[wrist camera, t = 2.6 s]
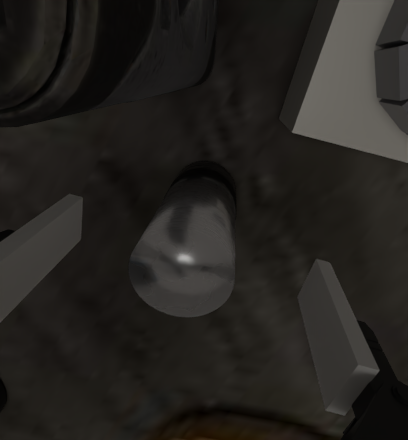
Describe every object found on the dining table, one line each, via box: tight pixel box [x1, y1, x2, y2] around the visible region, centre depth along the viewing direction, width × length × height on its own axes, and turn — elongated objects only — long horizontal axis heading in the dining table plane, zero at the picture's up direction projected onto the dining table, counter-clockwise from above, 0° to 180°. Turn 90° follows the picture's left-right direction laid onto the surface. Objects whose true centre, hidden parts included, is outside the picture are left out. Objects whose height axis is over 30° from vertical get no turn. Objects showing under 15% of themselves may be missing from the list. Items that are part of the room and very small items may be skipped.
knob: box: [128, 161, 236, 317], centre depth 20 cm, size 5×5×12 cm
